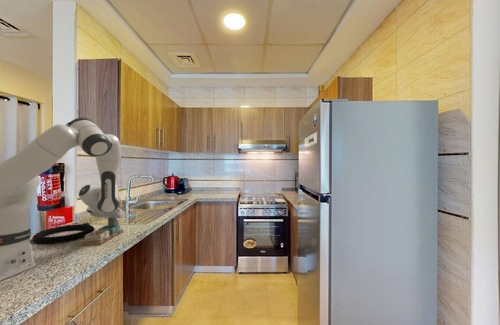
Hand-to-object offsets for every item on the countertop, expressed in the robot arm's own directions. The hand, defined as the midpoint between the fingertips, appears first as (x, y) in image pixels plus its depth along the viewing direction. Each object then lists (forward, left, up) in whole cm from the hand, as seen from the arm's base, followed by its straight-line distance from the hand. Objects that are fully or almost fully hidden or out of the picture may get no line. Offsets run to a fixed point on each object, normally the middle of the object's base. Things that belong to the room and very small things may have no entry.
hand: (114, 219), depth 146 cm
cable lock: (-12, +20, -7) cm, 24 cm away
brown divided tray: (-18, -4, -6) cm, 19 cm away
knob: (-1, 0, -6) cm, 6 cm away
